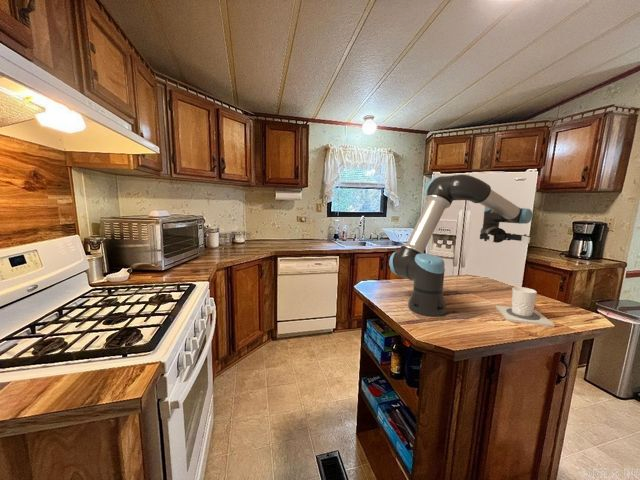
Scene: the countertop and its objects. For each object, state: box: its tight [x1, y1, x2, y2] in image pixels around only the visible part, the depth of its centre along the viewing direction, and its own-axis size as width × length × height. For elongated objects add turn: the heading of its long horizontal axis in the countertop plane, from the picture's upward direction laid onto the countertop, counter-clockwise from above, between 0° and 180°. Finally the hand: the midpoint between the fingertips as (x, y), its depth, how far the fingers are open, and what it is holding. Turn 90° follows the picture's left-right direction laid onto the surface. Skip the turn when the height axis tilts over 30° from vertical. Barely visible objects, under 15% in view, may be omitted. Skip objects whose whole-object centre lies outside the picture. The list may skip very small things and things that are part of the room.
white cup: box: [511, 286, 538, 317], centre depth 107 cm, size 8×8×10 cm
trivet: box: [495, 304, 555, 327], centre depth 108 cm, size 15×15×1 cm
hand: (510, 239), depth 117 cm, fingers open, 13 cm apart
